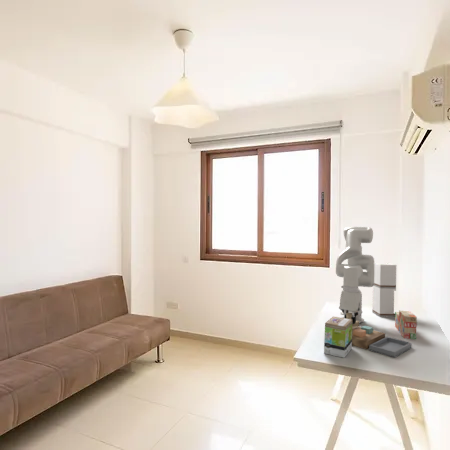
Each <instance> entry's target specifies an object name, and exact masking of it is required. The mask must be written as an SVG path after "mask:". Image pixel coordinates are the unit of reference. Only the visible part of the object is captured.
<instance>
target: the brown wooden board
mask: <svg viewBox="0 0 450 450" xmlns="http://www.w3.org/2000/svg"><path fill="white" fill-rule="evenodd" d="M361 327H362V326H357V327H354V328H352V346H353V347H357V348H360V349H364V350H369V345H370V344H373V343H375V342H377V341H379V340H381V339H383V338H385V337H386V332H381V331H379V330H378V331H377V330H374V329H373V333H371V334H367V333H366V336H364V337H359V336H355V335H353V330H355V329H361Z"/></svg>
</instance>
